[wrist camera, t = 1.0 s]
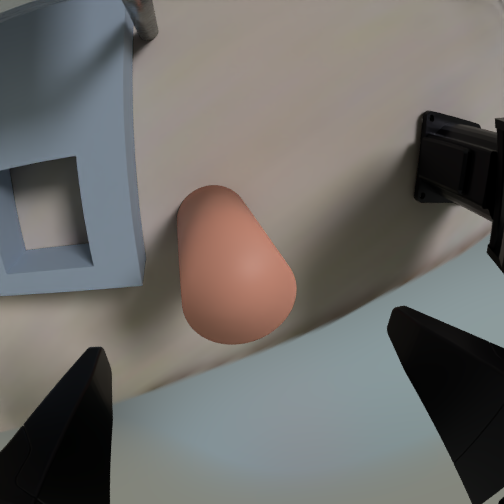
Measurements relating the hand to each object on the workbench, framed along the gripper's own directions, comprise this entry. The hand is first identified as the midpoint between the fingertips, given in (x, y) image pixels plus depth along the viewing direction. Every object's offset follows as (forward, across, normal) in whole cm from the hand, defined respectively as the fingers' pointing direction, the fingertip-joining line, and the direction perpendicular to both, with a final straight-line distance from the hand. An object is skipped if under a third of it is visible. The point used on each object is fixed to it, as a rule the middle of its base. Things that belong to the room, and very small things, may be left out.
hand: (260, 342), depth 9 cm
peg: (+10, 0, 0) cm, 10 cm away
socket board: (+10, +9, -7) cm, 15 cm away
